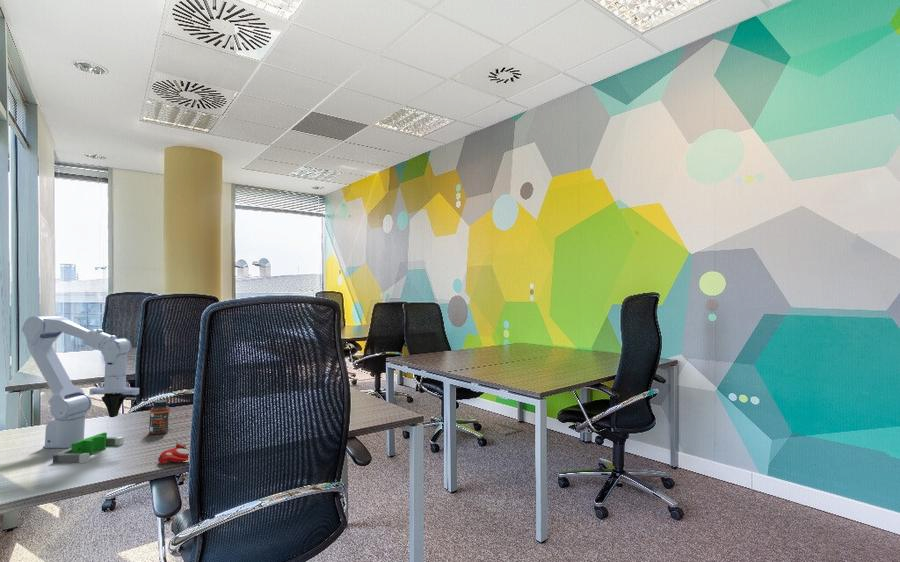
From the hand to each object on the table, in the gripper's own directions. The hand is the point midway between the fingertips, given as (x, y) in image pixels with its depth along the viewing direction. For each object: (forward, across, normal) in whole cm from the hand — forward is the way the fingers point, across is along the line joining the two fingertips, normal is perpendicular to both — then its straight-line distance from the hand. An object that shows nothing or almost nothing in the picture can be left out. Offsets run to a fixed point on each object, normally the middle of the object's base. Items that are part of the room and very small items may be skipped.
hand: (113, 416), depth 146 cm
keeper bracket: (+9, -2, -7) cm, 12 cm away
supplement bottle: (+10, +7, +14) cm, 18 cm away
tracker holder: (+10, +28, -12) cm, 32 cm away
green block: (+10, -2, -6) cm, 12 cm away
